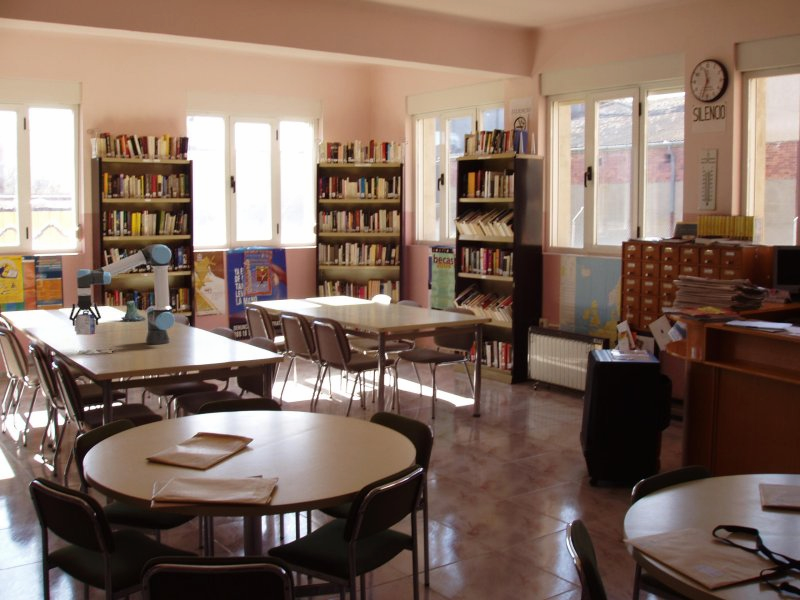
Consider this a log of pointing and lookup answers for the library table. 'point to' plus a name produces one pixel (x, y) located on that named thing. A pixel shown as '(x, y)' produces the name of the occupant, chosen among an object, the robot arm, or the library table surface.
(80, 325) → the ink cartridge box
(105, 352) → the board
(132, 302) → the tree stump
